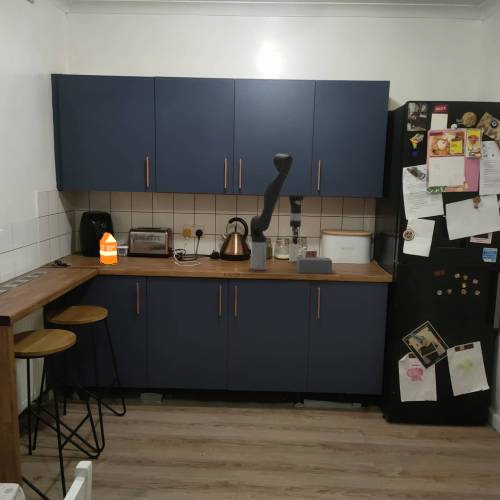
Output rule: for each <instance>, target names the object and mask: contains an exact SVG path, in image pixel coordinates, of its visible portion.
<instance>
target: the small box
mask: <svg viewBox="0 0 500 500" xmlns="http://www.w3.org/2000/svg"><path fill="white" fill-rule="evenodd" d="M302 257H311V258H318V251H317V250H316V249H303V250H302Z"/></svg>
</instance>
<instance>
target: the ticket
mask: <svg viewBox="0 0 500 500" xmlns="http://www.w3.org/2000/svg"><path fill="white" fill-rule="evenodd" d="M299 247H300V241H297V244H294V242H292V240H291V241H289V262H296V263H297V257H299V250H300V249H299Z"/></svg>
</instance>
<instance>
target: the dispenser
mask: <svg viewBox="0 0 500 500" xmlns="http://www.w3.org/2000/svg"><path fill="white" fill-rule="evenodd" d="M332 267H333V260H332V259H331V258H330V257H317V258H311V257H303V256H302V257H299V256H298V257H297V262H296V271H297V272H298V273H299V274H332V272H333V271H332V269H333V268H332Z"/></svg>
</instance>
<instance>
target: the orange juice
mask: <svg viewBox="0 0 500 500" xmlns="http://www.w3.org/2000/svg"><path fill="white" fill-rule="evenodd" d="M117 247H118V245H117V240H116V239H115V238H114V236H113V235H112V234H111V233H109V232H105V233H104V234H103V235H102V238H101V239H100V240H99V248H100V249H99V254H100V263H101V262H102V263H104V264H112V265H114V264H113V263H117V264H118V251H117V250H118V249H117ZM102 263H101V264H102ZM104 264H103V265H104Z"/></svg>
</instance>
